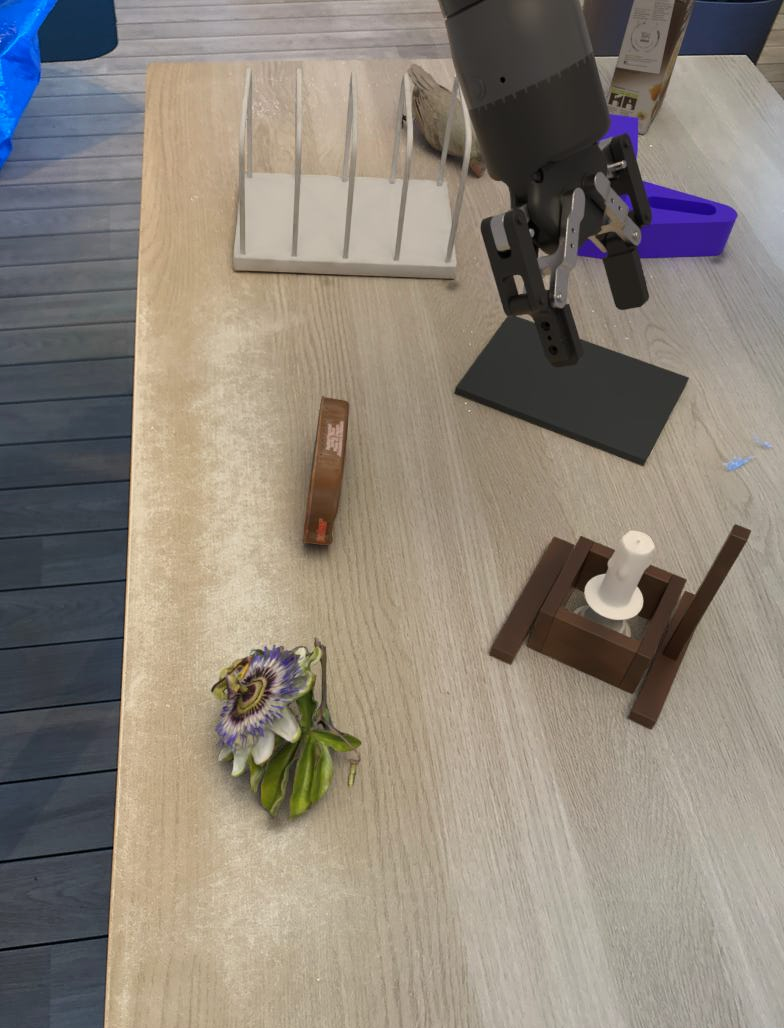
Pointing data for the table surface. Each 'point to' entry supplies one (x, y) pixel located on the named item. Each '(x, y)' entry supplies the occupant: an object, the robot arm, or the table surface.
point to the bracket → (672, 215)
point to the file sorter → (348, 207)
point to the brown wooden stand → (601, 645)
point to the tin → (326, 471)
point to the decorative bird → (441, 117)
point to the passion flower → (280, 726)
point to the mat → (575, 391)
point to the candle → (619, 584)
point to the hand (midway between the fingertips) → (602, 334)
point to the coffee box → (648, 58)
